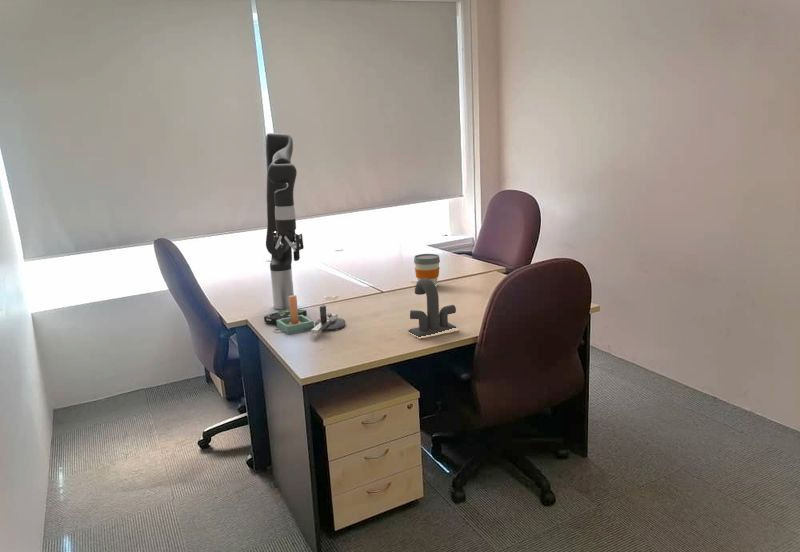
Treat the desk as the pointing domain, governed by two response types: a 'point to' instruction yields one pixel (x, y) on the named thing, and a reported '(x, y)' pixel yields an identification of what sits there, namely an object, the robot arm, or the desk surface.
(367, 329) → the desk surface
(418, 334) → the faucet
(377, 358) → the desk surface
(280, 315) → the disk drive
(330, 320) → the crank
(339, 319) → the crank base
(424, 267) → the reusable coffee cup
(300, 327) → the tray
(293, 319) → the stop peg
